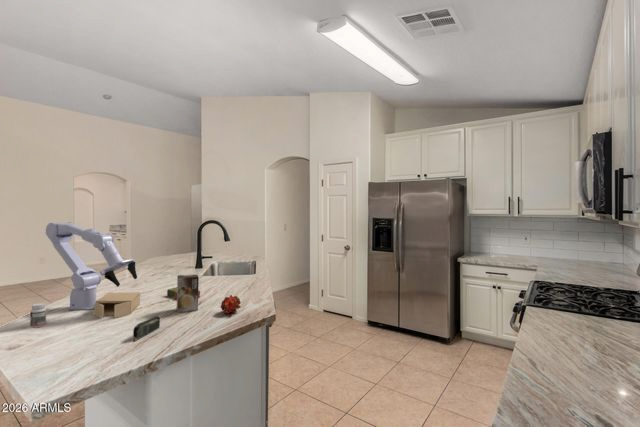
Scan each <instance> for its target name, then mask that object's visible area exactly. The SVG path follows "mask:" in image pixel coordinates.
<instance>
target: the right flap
mask: <svg viewBox="0 0 640 427" xmlns="http://www.w3.org/2000/svg"><path fill="white" fill-rule="evenodd" d="M130 309H131V302H126V303H121V304H117V305H115V306H114V314H113V317H114V319H115V318H116V319H117V318H120V317H123V316H127V315H131V314H130Z"/></svg>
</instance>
